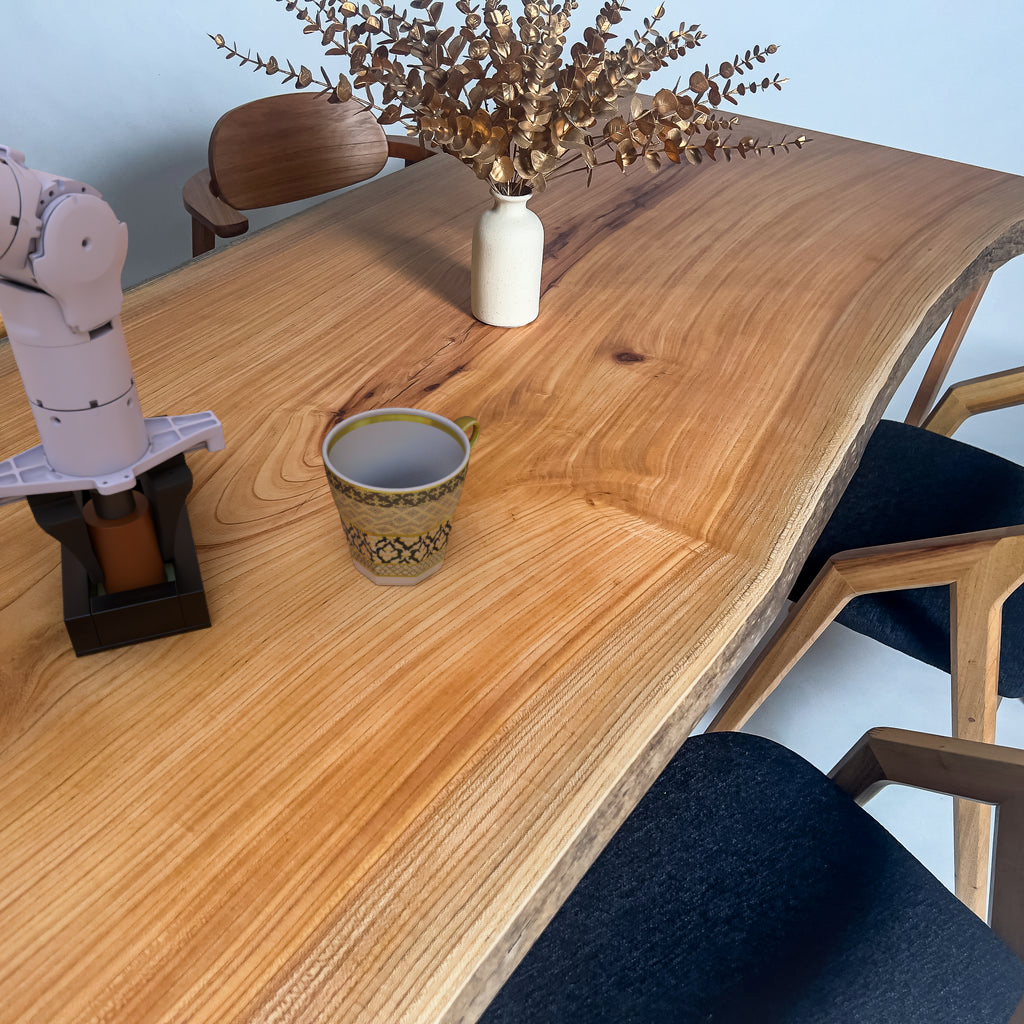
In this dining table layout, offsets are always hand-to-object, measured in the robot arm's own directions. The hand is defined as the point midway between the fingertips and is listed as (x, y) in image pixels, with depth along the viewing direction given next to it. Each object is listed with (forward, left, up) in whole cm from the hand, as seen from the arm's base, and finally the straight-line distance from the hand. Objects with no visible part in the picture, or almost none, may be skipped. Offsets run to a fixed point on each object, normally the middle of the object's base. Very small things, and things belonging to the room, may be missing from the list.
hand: (130, 562), depth 60 cm
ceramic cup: (+19, +2, -4) cm, 20 cm away
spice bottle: (0, 0, -2) cm, 2 cm away
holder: (-1, +7, -3) cm, 8 cm away
